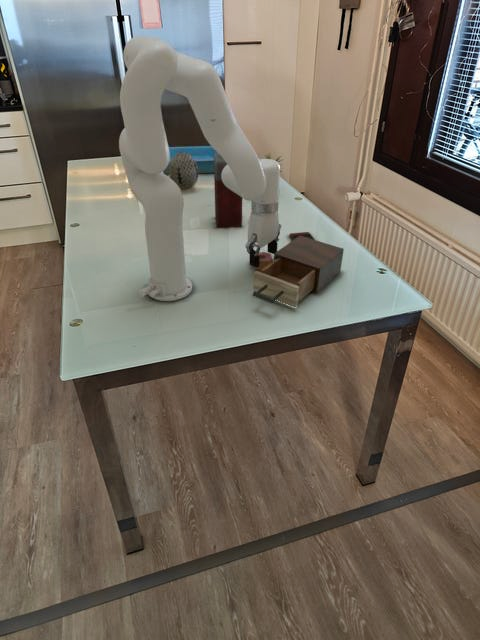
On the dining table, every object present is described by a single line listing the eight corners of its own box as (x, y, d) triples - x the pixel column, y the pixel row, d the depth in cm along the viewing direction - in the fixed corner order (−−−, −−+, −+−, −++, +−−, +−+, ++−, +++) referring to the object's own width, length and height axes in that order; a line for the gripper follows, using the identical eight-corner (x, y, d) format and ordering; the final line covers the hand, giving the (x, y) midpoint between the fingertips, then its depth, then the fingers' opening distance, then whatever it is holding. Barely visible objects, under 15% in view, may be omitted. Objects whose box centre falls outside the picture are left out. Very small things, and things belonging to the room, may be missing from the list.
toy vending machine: (238, 214, 172) (239, 135, 156) (242, 227, 163) (243, 145, 147) (214, 215, 172) (212, 136, 155) (216, 227, 163) (215, 145, 146)
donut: (264, 272, 138) (265, 263, 136) (248, 266, 141) (248, 257, 139) (275, 264, 142) (276, 255, 140) (259, 258, 144) (259, 250, 143)
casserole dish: (152, 177, 205) (150, 161, 201) (153, 161, 223) (152, 146, 219) (235, 174, 209) (235, 158, 204) (230, 159, 227) (230, 144, 222)
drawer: (283, 318, 117) (285, 298, 113) (241, 301, 123) (241, 281, 119) (319, 286, 130) (322, 267, 126) (279, 272, 136) (280, 253, 132)
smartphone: (309, 231, 158) (324, 251, 146) (308, 233, 159) (324, 254, 147) (289, 233, 157) (302, 253, 145) (288, 235, 158) (302, 256, 146)
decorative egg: (194, 195, 188) (192, 157, 179) (167, 193, 190) (163, 155, 181) (201, 185, 197) (200, 149, 189) (175, 183, 199) (172, 147, 190)
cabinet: (317, 294, 128) (320, 268, 123) (272, 278, 135) (274, 253, 130) (340, 272, 138) (343, 248, 133) (297, 259, 145) (299, 235, 140)
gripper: (270, 193, 137) (268, 245, 148) (235, 212, 126) (236, 267, 136) (292, 198, 134) (288, 251, 144) (258, 219, 123) (257, 275, 133)
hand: (263, 259), depth 140 cm, fingers open, 9 cm apart
